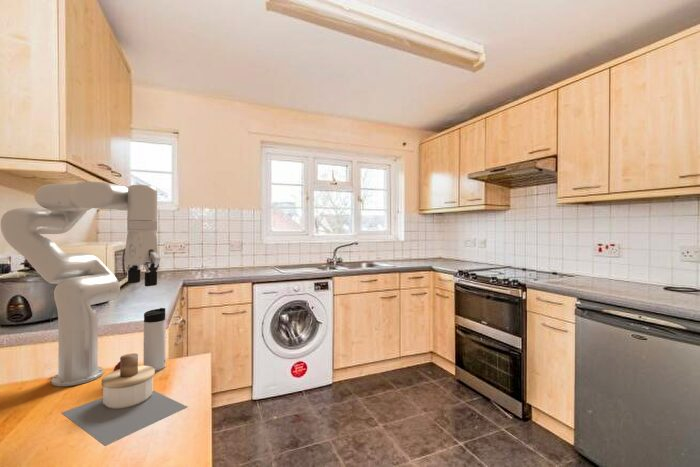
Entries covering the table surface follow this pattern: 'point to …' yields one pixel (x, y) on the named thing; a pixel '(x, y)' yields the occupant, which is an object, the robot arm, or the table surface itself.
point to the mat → (121, 417)
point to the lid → (128, 373)
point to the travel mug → (154, 338)
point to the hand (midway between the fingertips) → (142, 284)
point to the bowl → (127, 395)
